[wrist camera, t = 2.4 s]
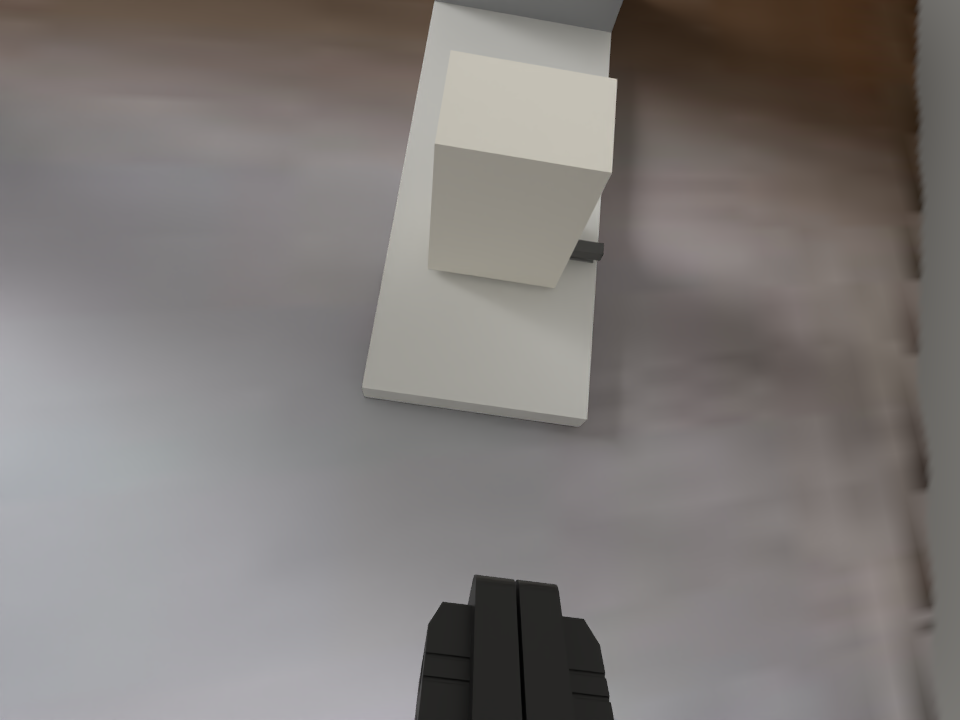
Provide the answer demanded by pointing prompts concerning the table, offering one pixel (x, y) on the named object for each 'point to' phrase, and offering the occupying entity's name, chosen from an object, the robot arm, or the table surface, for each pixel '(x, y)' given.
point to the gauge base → (478, 300)
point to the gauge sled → (518, 168)
